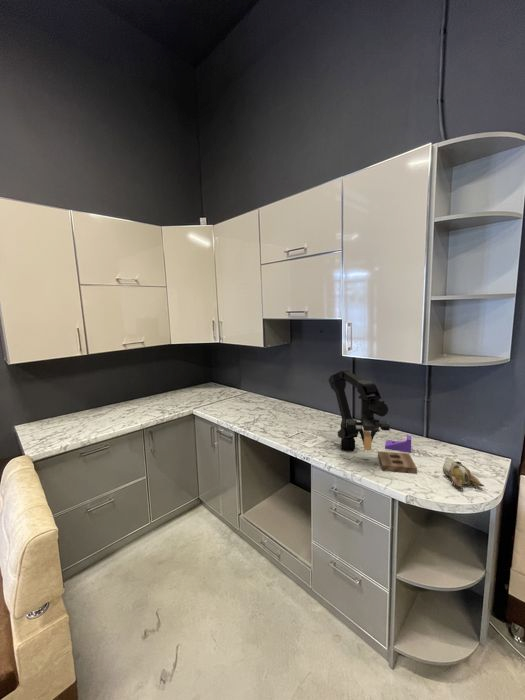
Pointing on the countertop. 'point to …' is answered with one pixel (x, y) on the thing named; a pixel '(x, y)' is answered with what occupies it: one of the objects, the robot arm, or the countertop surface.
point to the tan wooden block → (367, 440)
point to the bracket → (399, 445)
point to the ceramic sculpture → (459, 473)
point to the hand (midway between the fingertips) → (366, 442)
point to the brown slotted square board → (397, 462)
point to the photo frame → (310, 443)
